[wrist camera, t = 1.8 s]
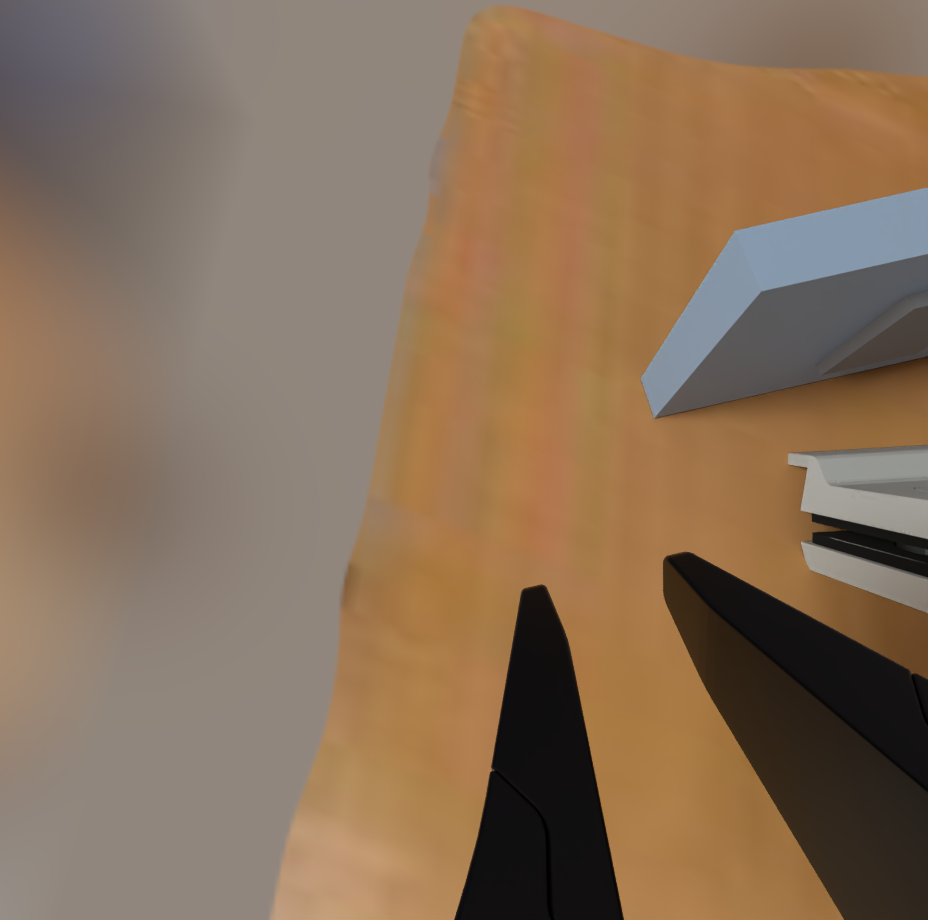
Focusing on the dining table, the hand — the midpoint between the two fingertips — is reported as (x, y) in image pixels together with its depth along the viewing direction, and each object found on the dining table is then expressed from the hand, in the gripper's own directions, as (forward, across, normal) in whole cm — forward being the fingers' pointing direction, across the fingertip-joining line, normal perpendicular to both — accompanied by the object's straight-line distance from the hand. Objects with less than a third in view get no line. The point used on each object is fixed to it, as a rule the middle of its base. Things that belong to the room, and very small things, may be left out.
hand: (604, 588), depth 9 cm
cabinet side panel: (+15, -18, +4) cm, 24 cm away
